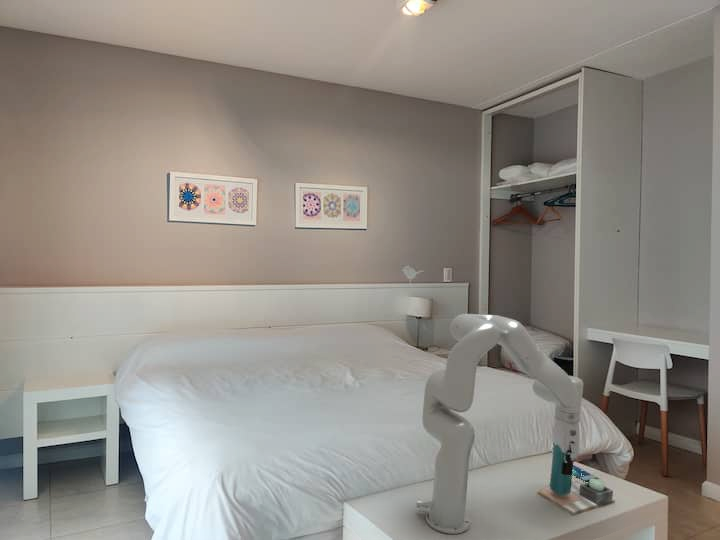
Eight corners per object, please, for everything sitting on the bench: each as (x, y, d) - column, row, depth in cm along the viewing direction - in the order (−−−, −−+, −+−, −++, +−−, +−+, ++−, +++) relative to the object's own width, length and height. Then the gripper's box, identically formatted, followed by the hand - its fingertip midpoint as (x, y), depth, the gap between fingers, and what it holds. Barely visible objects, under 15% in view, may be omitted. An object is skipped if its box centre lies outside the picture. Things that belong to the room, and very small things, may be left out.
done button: (597, 495, 165) (598, 486, 164) (585, 488, 168) (586, 479, 168) (606, 492, 167) (607, 483, 166) (594, 486, 171) (595, 477, 170)
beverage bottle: (572, 501, 163) (578, 440, 162) (550, 497, 165) (556, 437, 163) (568, 491, 170) (574, 432, 168) (547, 487, 171) (553, 429, 169)
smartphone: (586, 482, 179) (552, 463, 192) (586, 484, 179) (552, 465, 192) (600, 478, 182) (565, 460, 196) (600, 480, 182) (565, 462, 196)
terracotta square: (561, 507, 161) (561, 504, 161) (538, 494, 169) (539, 491, 169) (580, 502, 166) (580, 499, 166) (557, 488, 174) (557, 486, 173)
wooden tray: (573, 515, 157) (574, 502, 157) (537, 493, 170) (538, 481, 169) (614, 501, 167) (616, 489, 167) (577, 482, 179) (578, 470, 179)
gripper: (591, 426, 157) (585, 482, 158) (566, 406, 174) (561, 457, 175) (567, 424, 156) (561, 481, 158) (545, 405, 174) (540, 456, 175)
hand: (561, 468), depth 167 cm, fingers closed on beverage bottle, 6 cm apart
